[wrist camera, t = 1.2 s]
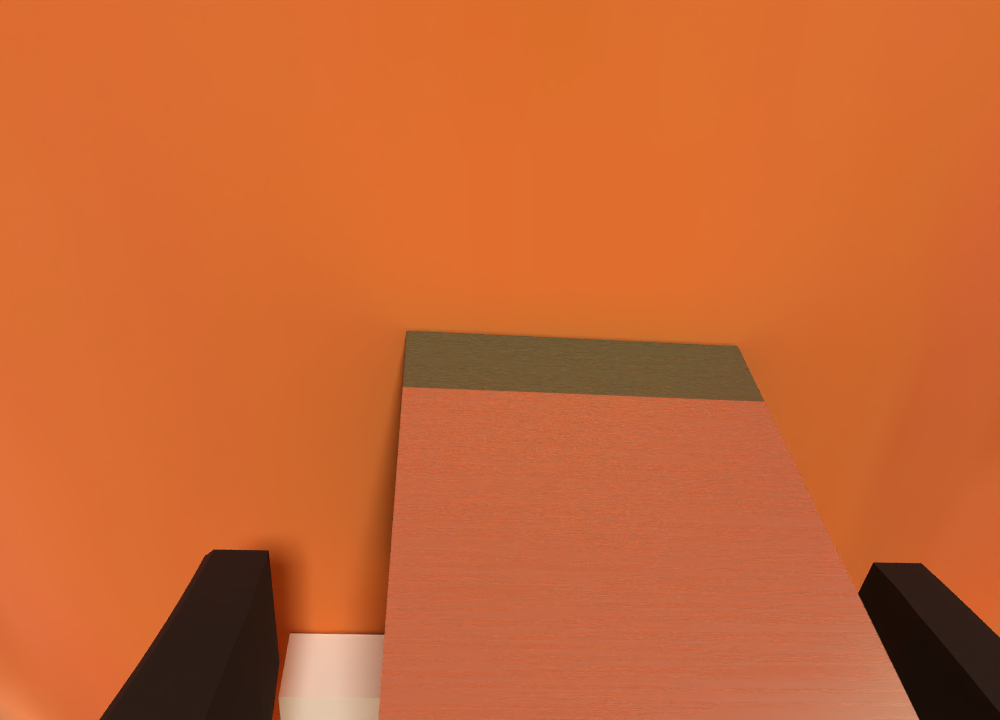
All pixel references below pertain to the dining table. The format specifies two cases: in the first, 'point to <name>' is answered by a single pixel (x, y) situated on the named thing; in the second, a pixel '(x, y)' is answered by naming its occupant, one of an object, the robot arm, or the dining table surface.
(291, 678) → the pin board
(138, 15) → the dining table surface
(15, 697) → the dining table surface
